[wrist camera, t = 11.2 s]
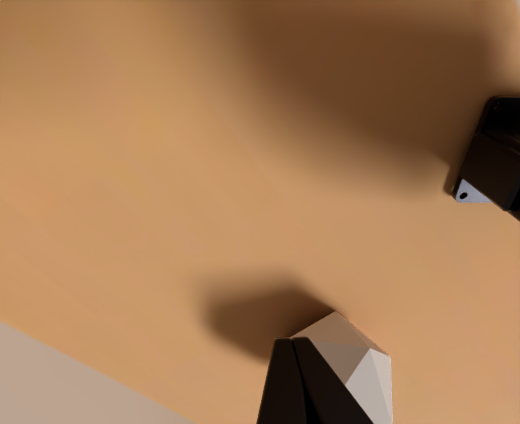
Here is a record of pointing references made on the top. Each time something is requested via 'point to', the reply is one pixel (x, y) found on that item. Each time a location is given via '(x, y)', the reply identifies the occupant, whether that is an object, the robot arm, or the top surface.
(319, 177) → the top surface
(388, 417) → the die
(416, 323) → the top surface
